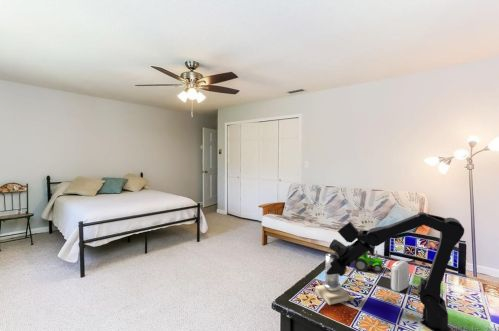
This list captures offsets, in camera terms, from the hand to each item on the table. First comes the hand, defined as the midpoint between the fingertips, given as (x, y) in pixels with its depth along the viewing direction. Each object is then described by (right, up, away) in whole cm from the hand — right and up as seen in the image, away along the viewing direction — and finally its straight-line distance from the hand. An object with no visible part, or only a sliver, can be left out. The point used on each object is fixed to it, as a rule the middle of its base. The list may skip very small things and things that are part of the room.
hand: (328, 271), depth 110 cm
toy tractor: (+29, -10, +27) cm, 41 cm away
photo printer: (+35, -11, +6) cm, 37 cm away
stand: (+1, -11, 0) cm, 11 cm away
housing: (+1, -7, -1) cm, 7 cm away
